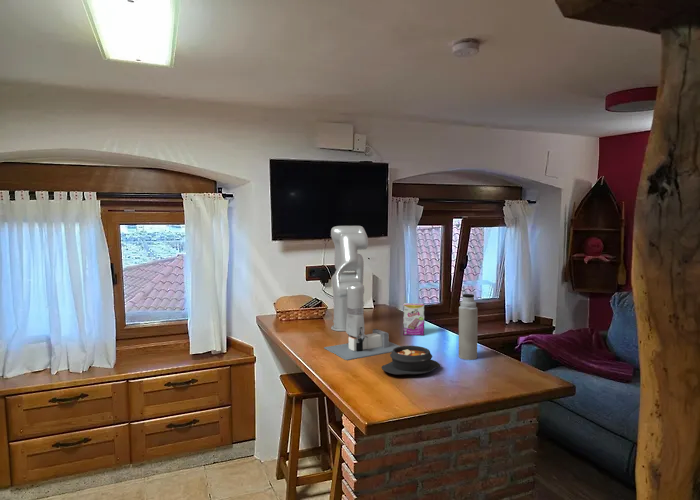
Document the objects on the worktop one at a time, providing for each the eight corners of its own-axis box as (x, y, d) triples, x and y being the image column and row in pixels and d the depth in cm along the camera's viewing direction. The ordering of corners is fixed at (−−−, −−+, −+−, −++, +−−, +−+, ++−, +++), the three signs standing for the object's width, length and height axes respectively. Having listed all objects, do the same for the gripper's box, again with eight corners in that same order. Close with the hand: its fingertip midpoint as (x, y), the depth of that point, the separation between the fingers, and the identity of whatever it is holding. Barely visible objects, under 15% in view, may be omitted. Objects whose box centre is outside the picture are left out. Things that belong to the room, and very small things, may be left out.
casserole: (397, 383, 172) (397, 361, 172) (372, 369, 189) (372, 348, 188) (450, 372, 184) (450, 351, 183) (422, 359, 200) (422, 340, 200)
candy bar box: (403, 335, 241) (403, 304, 240) (403, 333, 246) (402, 302, 245) (424, 335, 240) (424, 304, 239) (424, 333, 245) (424, 303, 244)
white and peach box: (348, 348, 216) (348, 336, 216) (361, 346, 219) (361, 334, 219) (353, 351, 212) (353, 338, 211) (366, 348, 215) (366, 336, 215)
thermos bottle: (459, 353, 208) (459, 292, 206) (477, 355, 205) (478, 293, 203) (457, 359, 200) (458, 295, 198) (476, 360, 198) (477, 296, 196)
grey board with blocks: (324, 348, 219) (323, 333, 219) (380, 338, 235) (379, 325, 234) (346, 360, 200) (346, 344, 199) (405, 349, 216) (405, 334, 215)
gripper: (339, 308, 219) (340, 346, 221) (358, 315, 204) (358, 355, 206) (353, 307, 223) (353, 343, 224) (372, 313, 208) (372, 352, 209)
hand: (355, 348), depth 215 cm, fingers open, 5 cm apart
